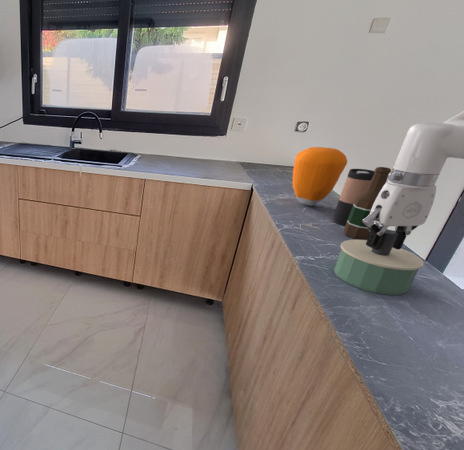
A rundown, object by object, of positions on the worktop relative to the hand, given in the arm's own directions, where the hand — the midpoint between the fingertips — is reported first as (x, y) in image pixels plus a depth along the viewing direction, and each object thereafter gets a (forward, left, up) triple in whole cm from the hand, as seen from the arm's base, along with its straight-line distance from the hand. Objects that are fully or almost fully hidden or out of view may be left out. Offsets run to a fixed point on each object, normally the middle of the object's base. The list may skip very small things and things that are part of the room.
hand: (382, 246), depth 80 cm
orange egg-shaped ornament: (-3, -63, -10) cm, 64 cm away
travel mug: (-10, -44, -10) cm, 46 cm away
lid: (0, 0, -2) cm, 2 cm away
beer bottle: (-9, -31, -10) cm, 34 cm away
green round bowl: (0, 0, -10) cm, 10 cm away
